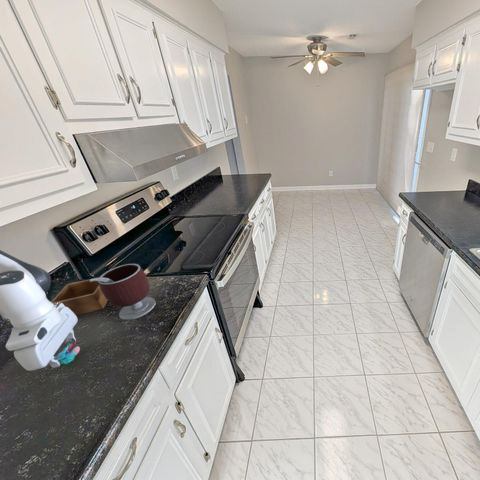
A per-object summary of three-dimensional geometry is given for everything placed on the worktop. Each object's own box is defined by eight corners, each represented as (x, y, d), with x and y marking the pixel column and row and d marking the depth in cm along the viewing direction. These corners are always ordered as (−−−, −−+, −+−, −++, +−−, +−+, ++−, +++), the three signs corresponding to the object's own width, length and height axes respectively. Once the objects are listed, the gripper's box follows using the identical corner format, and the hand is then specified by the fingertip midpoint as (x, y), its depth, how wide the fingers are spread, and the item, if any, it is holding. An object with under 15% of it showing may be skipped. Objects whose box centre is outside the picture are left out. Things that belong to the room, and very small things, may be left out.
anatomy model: (60, 336, 82) (37, 355, 76) (82, 339, 81) (62, 357, 75) (67, 347, 84) (45, 366, 78) (89, 350, 84) (69, 368, 78)
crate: (59, 319, 98) (48, 304, 94) (75, 298, 109) (66, 284, 106) (103, 308, 102) (94, 294, 98) (114, 289, 113) (107, 275, 110)
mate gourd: (144, 293, 109) (125, 253, 100) (165, 302, 103) (146, 260, 94) (105, 318, 97) (78, 275, 87) (125, 329, 91) (100, 284, 82)
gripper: (47, 302, 81) (70, 333, 88) (0, 352, 64) (33, 386, 70) (70, 296, 83) (91, 327, 89) (30, 343, 66) (60, 377, 72)
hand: (65, 353), depth 80 cm, fingers closed on anatomy model, 7 cm apart
